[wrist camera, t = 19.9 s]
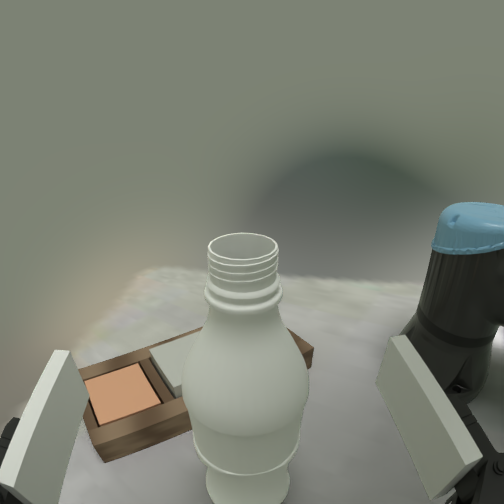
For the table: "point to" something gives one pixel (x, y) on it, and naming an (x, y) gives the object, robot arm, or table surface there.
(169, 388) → the key middle
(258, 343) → the water bottle
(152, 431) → the keypad
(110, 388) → the orange square block
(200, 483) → the table surface
